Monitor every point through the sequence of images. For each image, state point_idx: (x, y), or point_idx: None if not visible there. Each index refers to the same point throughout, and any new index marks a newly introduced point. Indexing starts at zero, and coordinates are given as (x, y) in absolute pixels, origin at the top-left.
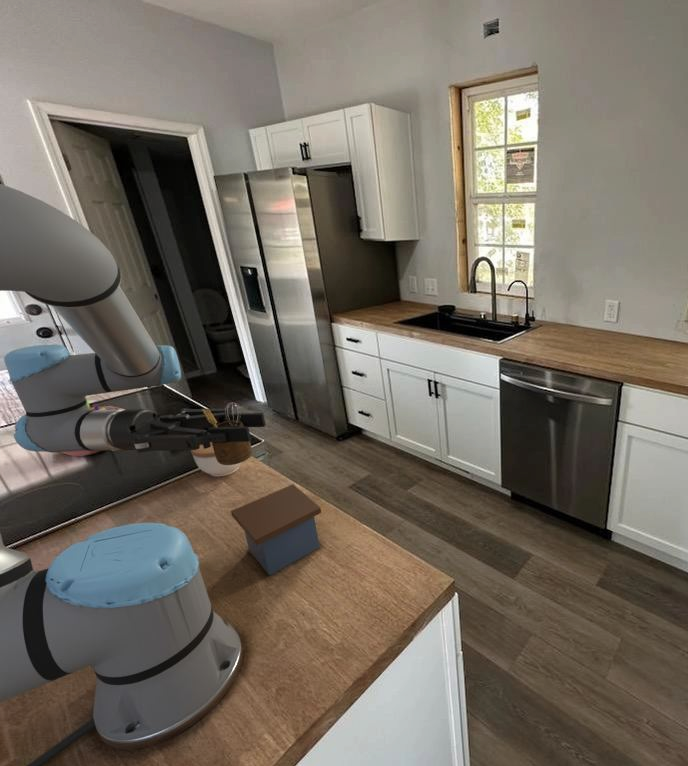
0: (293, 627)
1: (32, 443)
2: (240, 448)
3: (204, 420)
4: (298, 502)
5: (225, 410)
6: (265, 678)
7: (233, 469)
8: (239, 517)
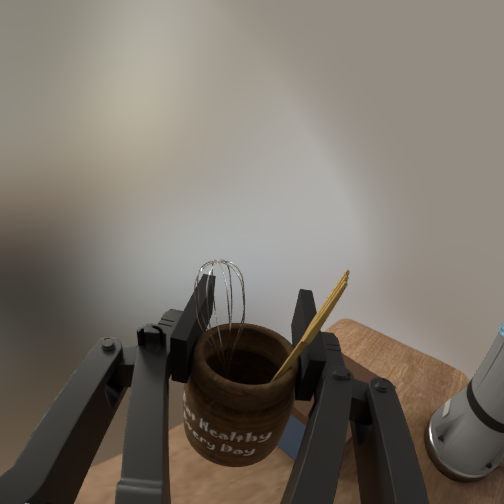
0: (405, 392)
1: None
2: (269, 378)
3: (164, 430)
4: None
5: (228, 301)
6: (441, 393)
7: None
8: None
